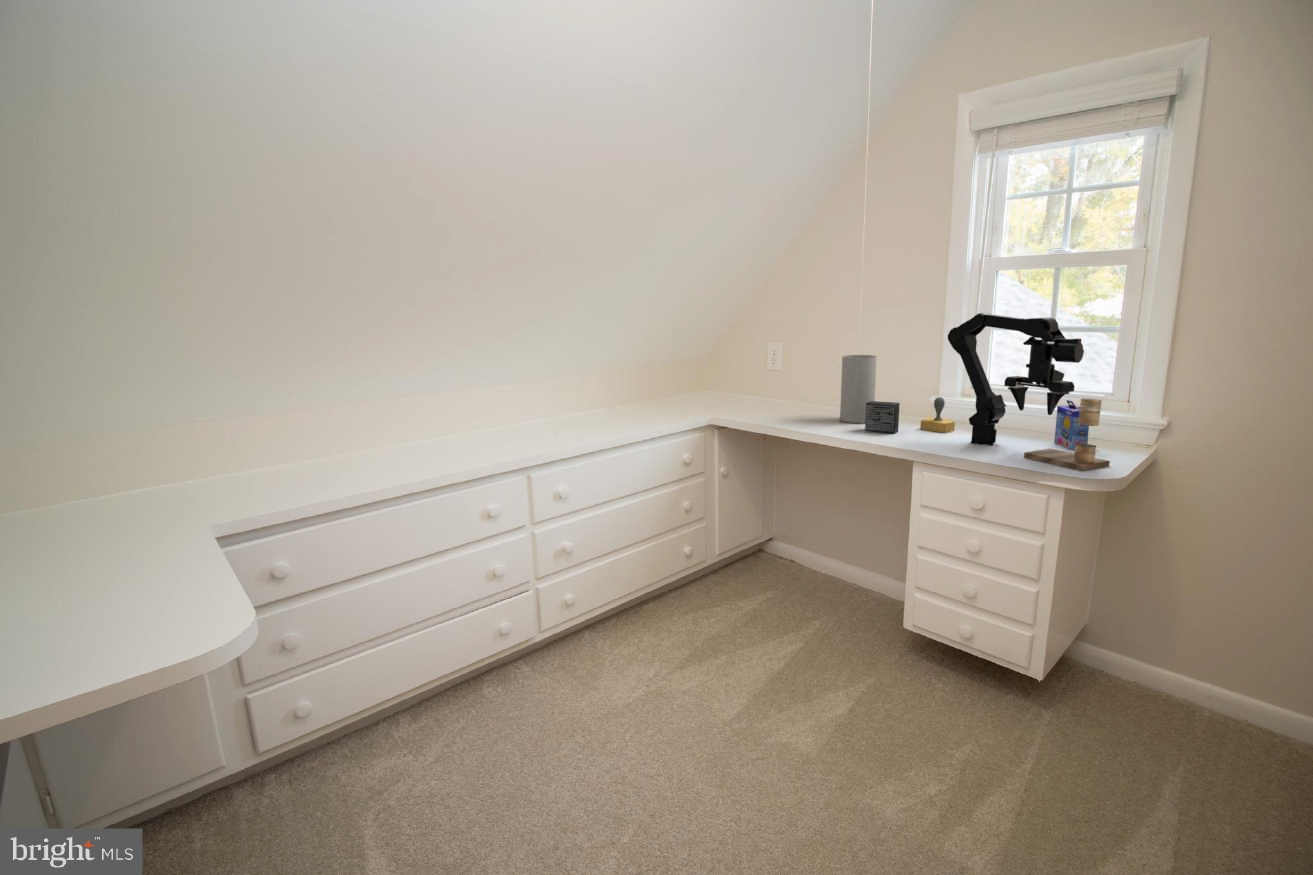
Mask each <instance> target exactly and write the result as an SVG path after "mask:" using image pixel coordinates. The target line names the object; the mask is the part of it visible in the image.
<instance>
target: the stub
mask: <svg viewBox="0 0 1313 875" xmlns="http://www.w3.org/2000/svg"><path fill="white" fill-rule="evenodd" d="M1102 401H1103V400H1102V399H1097V398H1089V397H1084V398H1081V399H1080V404H1079V407H1080V411H1079V420H1078V424H1082V425H1088V426H1089V427H1096V426H1099V424H1100V418H1101V417H1100V416H1101V409H1102Z"/></svg>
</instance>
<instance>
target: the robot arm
mask: <svg viewBox="0 0 1313 875" xmlns="http://www.w3.org/2000/svg"><path fill="white" fill-rule="evenodd" d="M986 327H989V328H994V329H996V328H997V329H1003V330H1009V331H1017V332H1019V333H1022V334H1024V335H1027V336H1029V338H1028V339H1027V340H1025V341H1023V343H1022V344H1023V345H1025V346H1030V351H1029V361H1028V363H1026V364H1025V368H1028V371H1027V372H1028V373H1027V376H1022V375H1012V376H1007V377H1006V378H1005V379H1004V387H1007V390H1009V391H1010V392H1011V394H1012V396H1013V398H1014V400H1015V402H1016V405H1017V407H1018V409H1019V411H1021V412H1022V411H1024V408H1025V402H1026V401H1025V400H1026V393H1027V391H1028V390H1029V388H1030V387H1035V388H1041V389H1048V390H1049V392H1046V403H1047V404H1046V406H1047V407H1046V408H1047V409H1046V410H1047V415H1048V416H1051V415H1053V413H1054V411H1055V409H1056V407H1057V406H1058V403H1059V402H1060V401H1061V399H1062V397H1064V396H1065V395H1069V394H1070V393H1071V392H1075V383H1074V382H1073V381H1067V380H1064V377H1065V375H1066V374H1065V373H1064V372H1062V371H1059V370H1056V369H1055V368H1056V365H1055V364H1054V363H1052V362H1053V359H1054V361H1055V362H1056V363H1057V362H1058V363H1060V362H1061V363H1075V364H1079V363H1080V362H1081V361H1082V360H1083V357H1084V354H1085V350H1084V345H1083V343H1082V338H1078V337H1077V338H1066V337H1065V336H1064V334H1063V333H1062V331H1061V330H1060V328H1059V323H1058V321H1057V320H1056V319H1055V318H1054V317H1032V318H1031V317H1030V318H1024V317H1014V316H1006V315H1001V314H990V313H989V312H979V313H977V314H976V315H974V316H973V317H971V318H970V319H968V320H967V321H965V322H963V323H961V324H960V325H958V326H955V327H953V328H951V329H950V330H949V332H948V334H947V340H948V342H949V344H950V346H951V347H952V349H953V350H954V351H955V352H956V353H957V354H959V356H960V358H961V360H962V363H963V366H964V368H965V371H966V374H967V376H968V378H969V382H970V384H971V386H972V389H973V392H974V395H975V397H976V398H975V409H976V410H975V411H976V412H975V413H974V414H973V415H972V416H970V417H969V418H968V422H969V425H970V426H972V427H971V430H972V431H971V439H970V444H972V445H982V446H994V444H996V442H997V432H998V430H997V428H996V424H999V422H1000V420H1001V419H1002V418H1003V417H1004V416H1005V414H1006V407H1007V405H1006V403H1005V402H1004V397H1003V396H1002V394H995V393H994V392H993V390H992V388H991V385H990V382H989V379H988V377H987V375H986V372H985V370H984V367H983V364H982V363H981V360H980V357H979V355H978V353H977V345H978V340H977V336H978V335H979V334H981V333H982V332H983V331H984V329H985V328H986Z"/></svg>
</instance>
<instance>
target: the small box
mask: <svg viewBox="0 0 1313 875" xmlns="http://www.w3.org/2000/svg"><path fill="white" fill-rule="evenodd" d="M899 418H900V402H894V401H891V402H890V401H870V402H867V403H866V418H865V423H864V424H865V425H864V432H865V431H870V432H869V433H878V434H890V433H891V434H893V435H894V434H896V433H898V432H899V425H900V424H899V422H900V420H899Z"/></svg>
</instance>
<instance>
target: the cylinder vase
mask: <svg viewBox="0 0 1313 875" xmlns="http://www.w3.org/2000/svg"><path fill="white" fill-rule="evenodd" d="M877 360H878V358H877V356H876V355H870V354H869V355H868V354H850V355H849V354H848V355H842V357H841V380H840V382H841V383H840V385H841V386H840V409H839V410H840V412H839V419H840V421H842V422H843V423H847V424H857V425H858V424H865V418H866V403H867V402H870V401H875V400H876V399H875V396H876V382H877V381H876V377H877V376H876V375H877Z"/></svg>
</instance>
